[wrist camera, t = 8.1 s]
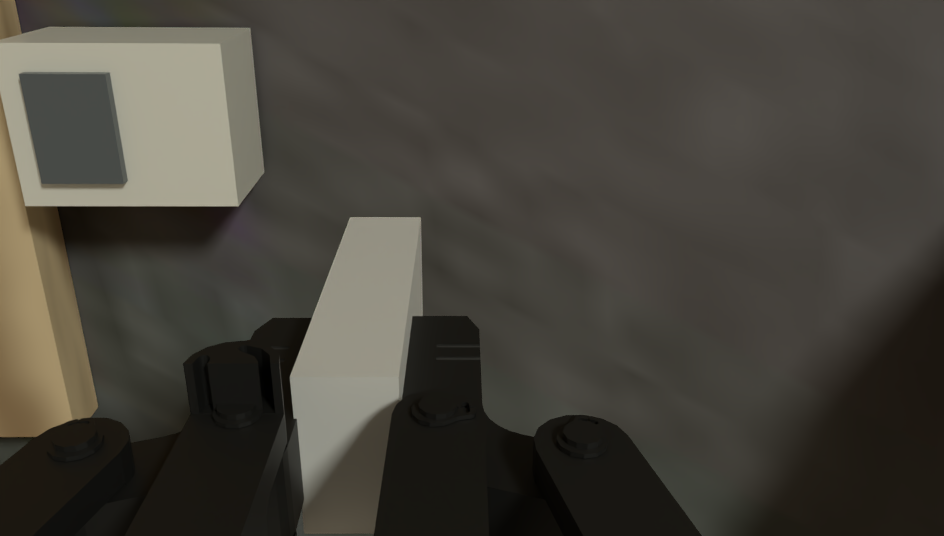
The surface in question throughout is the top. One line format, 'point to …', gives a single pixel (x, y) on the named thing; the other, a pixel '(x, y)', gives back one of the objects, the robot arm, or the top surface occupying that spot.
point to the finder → (132, 115)
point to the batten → (36, 305)
